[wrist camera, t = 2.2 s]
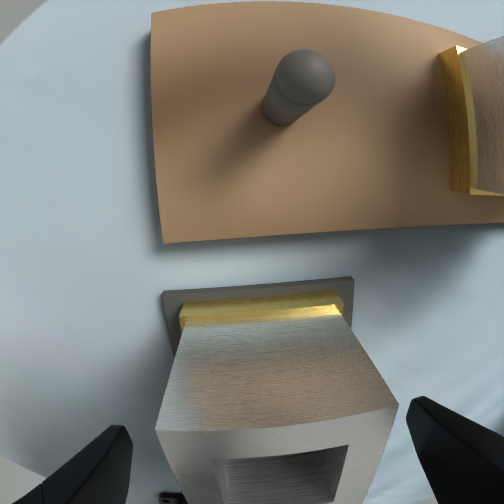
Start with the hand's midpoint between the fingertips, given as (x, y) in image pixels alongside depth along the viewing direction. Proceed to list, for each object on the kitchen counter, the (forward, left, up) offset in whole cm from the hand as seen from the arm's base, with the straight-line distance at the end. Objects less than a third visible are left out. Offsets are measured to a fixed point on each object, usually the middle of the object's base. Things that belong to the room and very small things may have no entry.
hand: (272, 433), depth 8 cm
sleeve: (0, 0, -4) cm, 4 cm away
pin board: (+9, -5, -4) cm, 11 cm away
